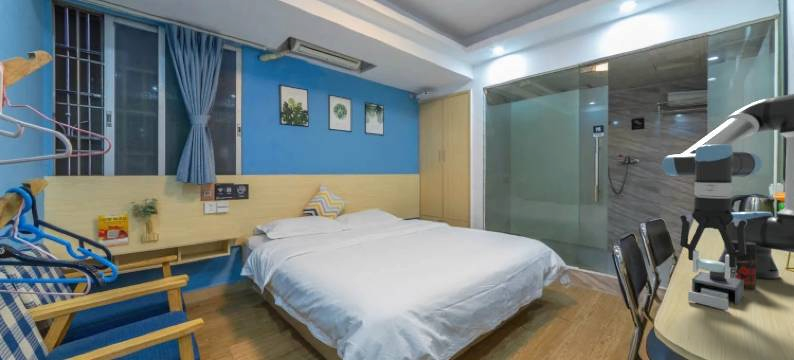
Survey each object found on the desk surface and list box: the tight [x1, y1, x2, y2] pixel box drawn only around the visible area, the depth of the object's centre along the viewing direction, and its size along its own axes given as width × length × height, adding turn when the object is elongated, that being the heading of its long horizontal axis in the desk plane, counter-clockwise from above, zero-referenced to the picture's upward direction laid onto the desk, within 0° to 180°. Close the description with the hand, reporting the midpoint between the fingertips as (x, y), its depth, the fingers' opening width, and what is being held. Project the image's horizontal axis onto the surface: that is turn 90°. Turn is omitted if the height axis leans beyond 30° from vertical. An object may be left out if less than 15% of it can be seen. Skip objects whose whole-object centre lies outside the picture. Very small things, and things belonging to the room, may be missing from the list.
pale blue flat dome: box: [697, 258, 725, 272], centre depth 89 cm, size 6×6×2 cm
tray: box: [687, 287, 730, 311], centre depth 89 cm, size 11×8×3 cm
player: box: [691, 271, 745, 305], centre depth 94 cm, size 11×10×8 cm
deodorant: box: [730, 240, 757, 292], centre depth 99 cm, size 6×6×15 cm
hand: (711, 274), depth 89 cm, fingers closed on pale blue flat dome, 6 cm apart
